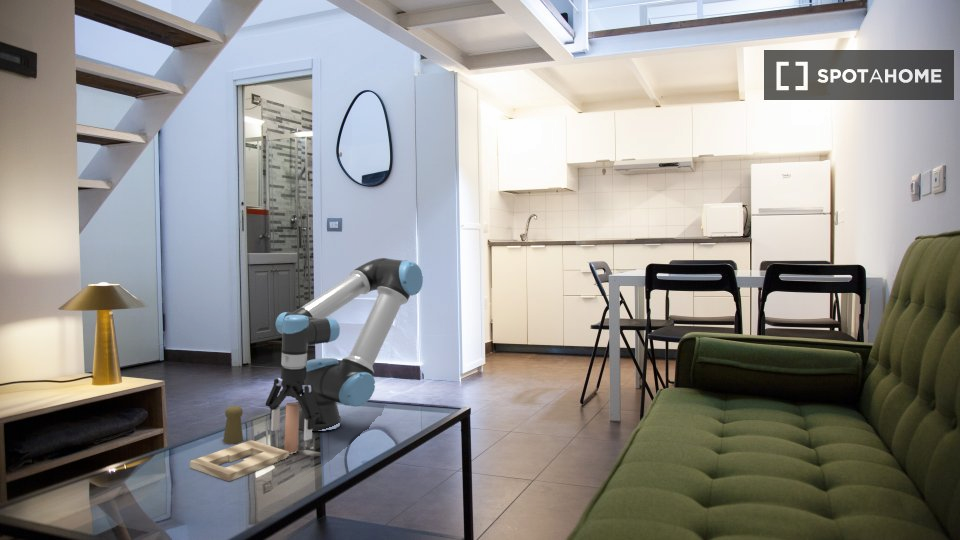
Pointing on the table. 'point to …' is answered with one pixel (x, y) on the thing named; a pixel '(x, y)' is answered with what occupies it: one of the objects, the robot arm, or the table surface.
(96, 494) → the table surface
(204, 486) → the table surface
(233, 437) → the cork
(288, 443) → the peg
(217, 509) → the table surface
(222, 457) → the keyhole board
